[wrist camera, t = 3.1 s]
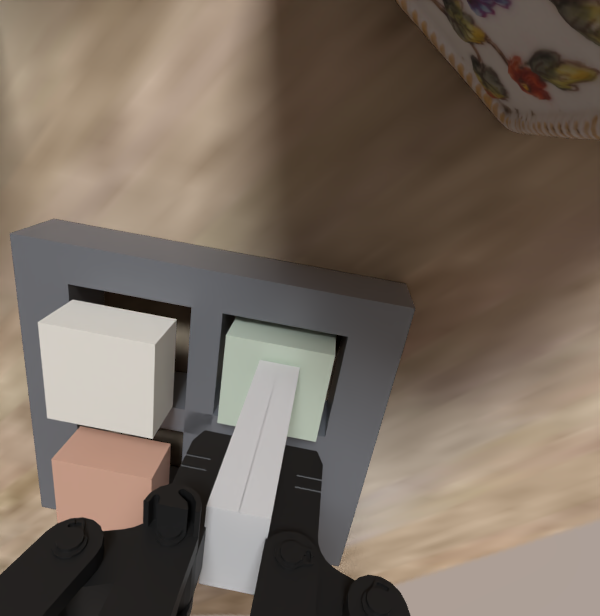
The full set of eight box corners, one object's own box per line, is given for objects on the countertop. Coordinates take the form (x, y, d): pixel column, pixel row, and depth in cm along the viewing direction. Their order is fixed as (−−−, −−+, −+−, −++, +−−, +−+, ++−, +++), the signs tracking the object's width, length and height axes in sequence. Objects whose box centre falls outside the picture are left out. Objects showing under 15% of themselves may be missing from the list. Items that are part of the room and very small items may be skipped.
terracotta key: (97, 475, 21) (58, 530, 18) (94, 409, 20) (51, 459, 17) (176, 490, 21) (149, 549, 18) (180, 426, 19) (151, 479, 17)
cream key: (93, 372, 19) (47, 418, 16) (89, 288, 17) (37, 322, 14) (182, 390, 19) (152, 438, 16) (187, 307, 17) (155, 344, 14)
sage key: (235, 379, 20) (217, 422, 17) (244, 301, 18) (226, 335, 16) (320, 395, 20) (315, 442, 17) (336, 319, 18) (335, 355, 15)
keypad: (72, 468, 24) (41, 506, 21) (53, 218, 18) (9, 233, 16) (339, 521, 23) (338, 566, 21) (405, 283, 18) (415, 308, 15)
